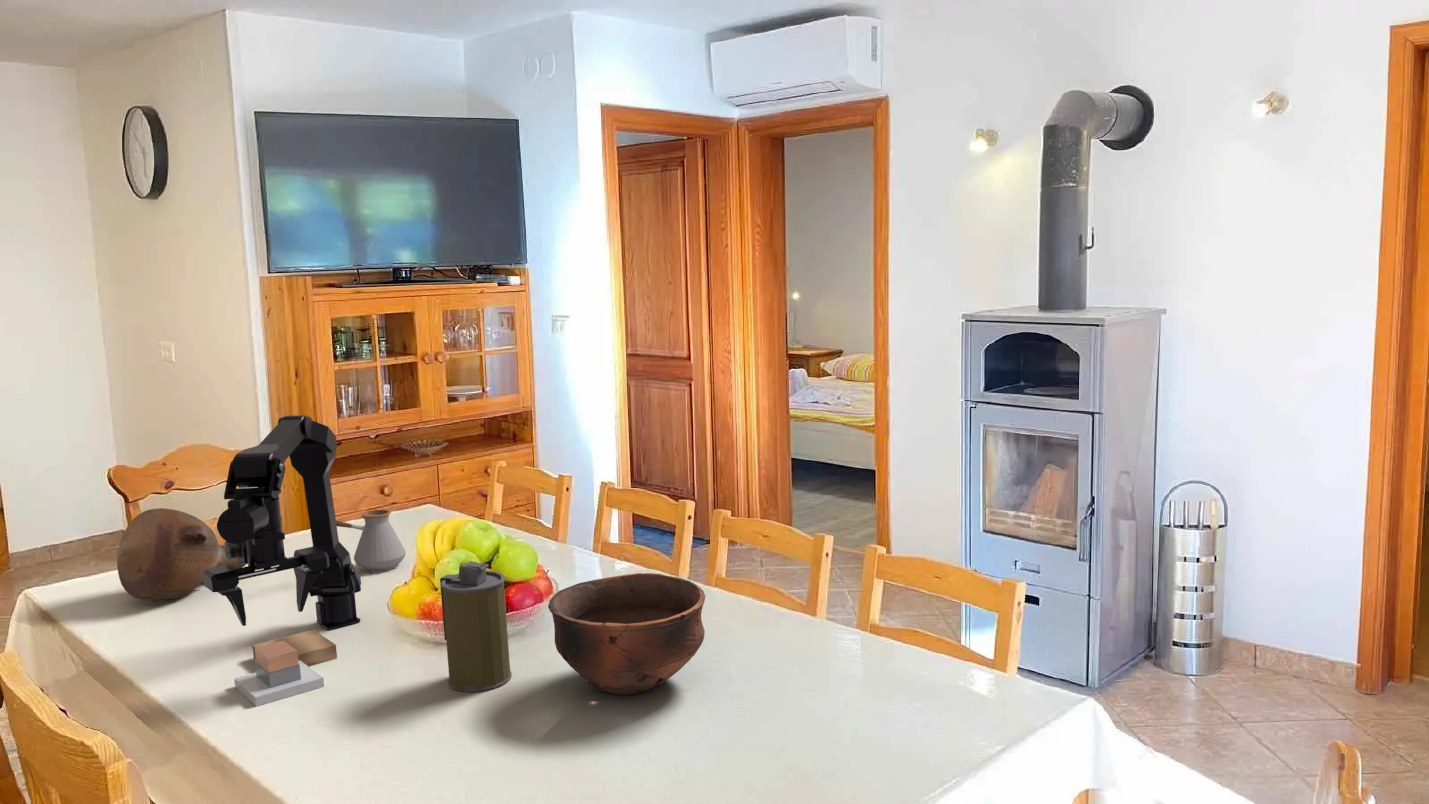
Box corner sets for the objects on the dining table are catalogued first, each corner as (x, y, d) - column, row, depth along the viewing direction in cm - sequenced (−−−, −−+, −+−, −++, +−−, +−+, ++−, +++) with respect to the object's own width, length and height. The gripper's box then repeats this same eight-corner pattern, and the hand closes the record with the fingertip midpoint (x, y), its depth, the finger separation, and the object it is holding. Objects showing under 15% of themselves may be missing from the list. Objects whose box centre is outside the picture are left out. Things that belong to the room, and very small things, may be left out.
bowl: (587, 731, 159) (581, 633, 157) (534, 675, 181) (528, 588, 179) (734, 693, 170) (731, 601, 168) (668, 645, 192) (664, 563, 190)
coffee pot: (384, 557, 256) (379, 495, 253) (417, 563, 249) (412, 500, 247) (306, 582, 238) (300, 516, 236) (339, 590, 232) (333, 522, 230)
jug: (132, 620, 217) (266, 601, 242) (148, 527, 215) (281, 518, 240) (84, 585, 228) (216, 571, 253) (99, 497, 226) (231, 491, 251)
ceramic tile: (300, 668, 188) (299, 660, 188) (324, 686, 180) (323, 677, 179) (235, 686, 181) (234, 678, 181) (256, 706, 173) (255, 697, 172)
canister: (523, 670, 183) (515, 557, 180) (491, 695, 173) (482, 575, 170) (467, 664, 187) (459, 553, 184) (433, 688, 177) (424, 571, 174)
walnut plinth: (314, 642, 200) (313, 629, 200) (337, 658, 192) (335, 644, 192) (253, 658, 193) (252, 645, 193) (274, 675, 185) (273, 661, 185)
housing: (301, 679, 179) (298, 650, 178) (270, 688, 176) (267, 659, 175) (286, 667, 184) (283, 640, 184) (256, 676, 181) (253, 648, 181)
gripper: (302, 508, 189) (310, 594, 191) (188, 530, 177) (198, 620, 179) (326, 519, 180) (334, 608, 182) (208, 542, 168) (218, 637, 171)
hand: (272, 618), depth 179 cm, fingers open, 9 cm apart
